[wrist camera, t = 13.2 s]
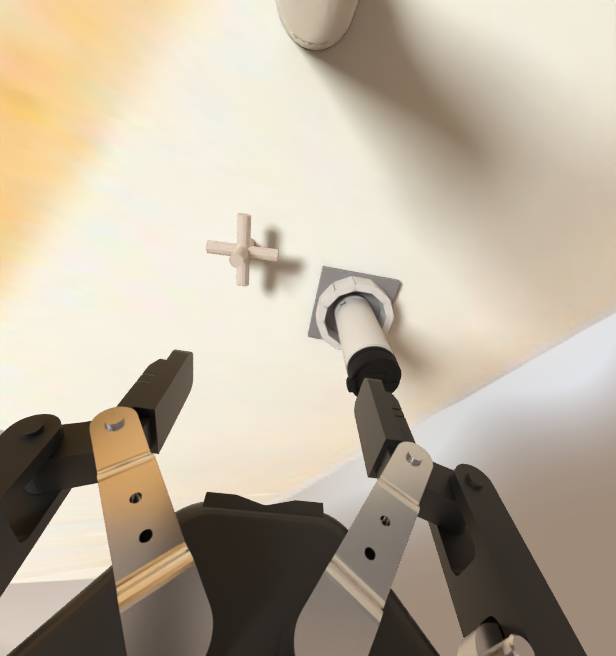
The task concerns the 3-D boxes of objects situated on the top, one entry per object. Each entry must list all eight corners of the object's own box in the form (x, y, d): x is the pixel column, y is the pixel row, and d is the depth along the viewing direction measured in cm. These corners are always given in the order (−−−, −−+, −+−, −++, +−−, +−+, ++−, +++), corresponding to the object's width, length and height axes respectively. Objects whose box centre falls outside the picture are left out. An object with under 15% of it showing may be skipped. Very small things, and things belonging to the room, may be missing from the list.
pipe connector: (282, 214, 44) (278, 225, 35) (277, 277, 49) (272, 300, 40) (216, 205, 43) (194, 214, 34) (217, 269, 48) (198, 292, 39)
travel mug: (330, 295, 49) (345, 365, 31) (369, 291, 49) (406, 358, 31) (333, 327, 52) (348, 407, 34) (369, 323, 52) (403, 401, 34)
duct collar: (322, 265, 48) (324, 274, 44) (398, 279, 49) (406, 289, 45) (307, 333, 54) (308, 347, 50) (375, 344, 55) (380, 358, 51)
